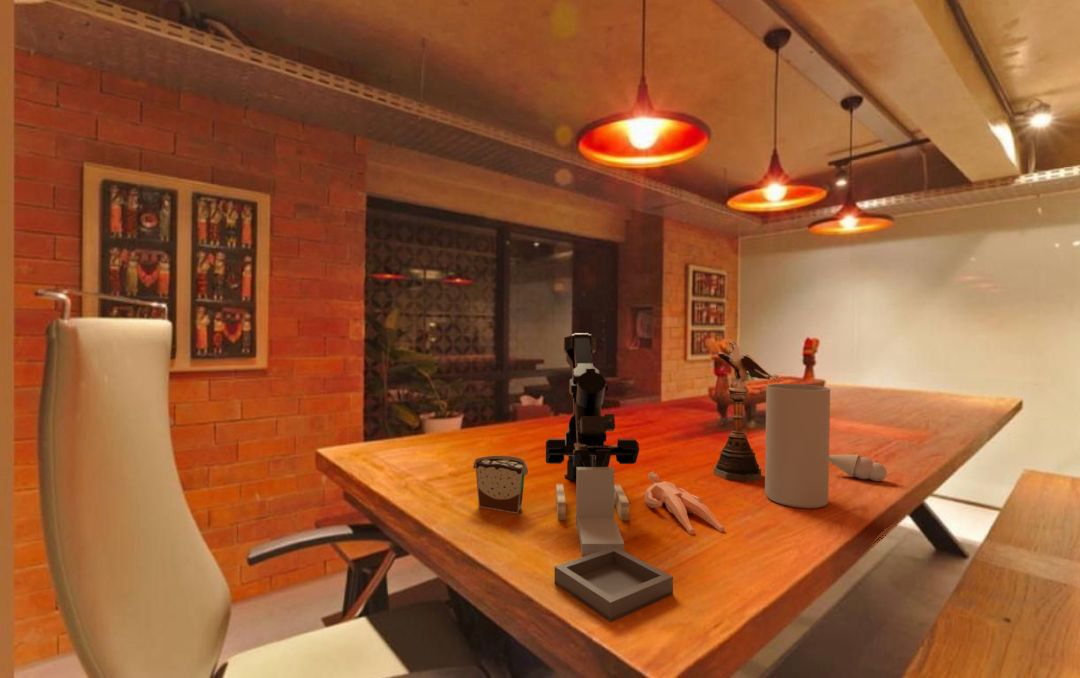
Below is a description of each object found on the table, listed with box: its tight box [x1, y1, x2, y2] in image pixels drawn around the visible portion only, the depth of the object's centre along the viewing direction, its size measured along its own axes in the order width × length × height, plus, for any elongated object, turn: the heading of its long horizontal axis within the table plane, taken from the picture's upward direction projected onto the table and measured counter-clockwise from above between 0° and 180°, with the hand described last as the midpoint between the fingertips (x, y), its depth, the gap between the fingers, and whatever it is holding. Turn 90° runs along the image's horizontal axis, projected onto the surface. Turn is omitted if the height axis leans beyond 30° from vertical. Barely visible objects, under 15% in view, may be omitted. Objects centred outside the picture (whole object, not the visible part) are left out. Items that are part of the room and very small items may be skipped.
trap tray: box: [554, 547, 674, 622], centre depth 73 cm, size 12×12×2 cm
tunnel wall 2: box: [614, 483, 630, 522], centre depth 105 cm, size 12×2×4 cm, turn 0°
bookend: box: [575, 466, 625, 557], centre depth 91 cm, size 14×7×11 cm, turn 0°
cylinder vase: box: [764, 383, 831, 509], centre depth 112 cm, size 12×12×25 cm
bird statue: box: [713, 341, 780, 483], centre depth 132 cm, size 17×13×35 cm
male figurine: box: [644, 471, 726, 535], centre depth 105 cm, size 11×5×25 cm
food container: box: [472, 455, 529, 515], centre depth 107 cm, size 12×6×10 cm, turn 65°
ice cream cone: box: [829, 453, 888, 482], centre depth 129 cm, size 6×6×15 cm
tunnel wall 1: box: [555, 483, 567, 521], centre depth 105 cm, size 12×2×4 cm, turn 0°
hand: (594, 489), depth 98 cm, fingers closed, pressing on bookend
